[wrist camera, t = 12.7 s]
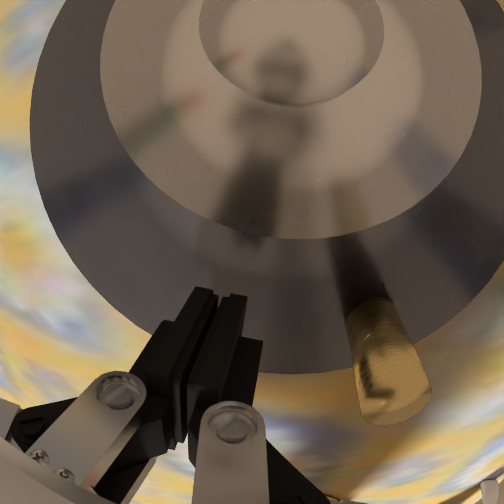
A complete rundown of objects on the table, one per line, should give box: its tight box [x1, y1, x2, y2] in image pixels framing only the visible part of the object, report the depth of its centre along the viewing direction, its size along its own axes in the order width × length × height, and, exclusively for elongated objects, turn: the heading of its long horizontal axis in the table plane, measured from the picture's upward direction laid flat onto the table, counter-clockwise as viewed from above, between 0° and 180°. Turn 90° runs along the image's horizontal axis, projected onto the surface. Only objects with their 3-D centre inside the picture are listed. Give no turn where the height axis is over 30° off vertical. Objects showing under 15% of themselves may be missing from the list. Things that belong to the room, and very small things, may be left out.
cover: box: [100, 0, 482, 239], centre depth 6 cm, size 8×8×4 cm
